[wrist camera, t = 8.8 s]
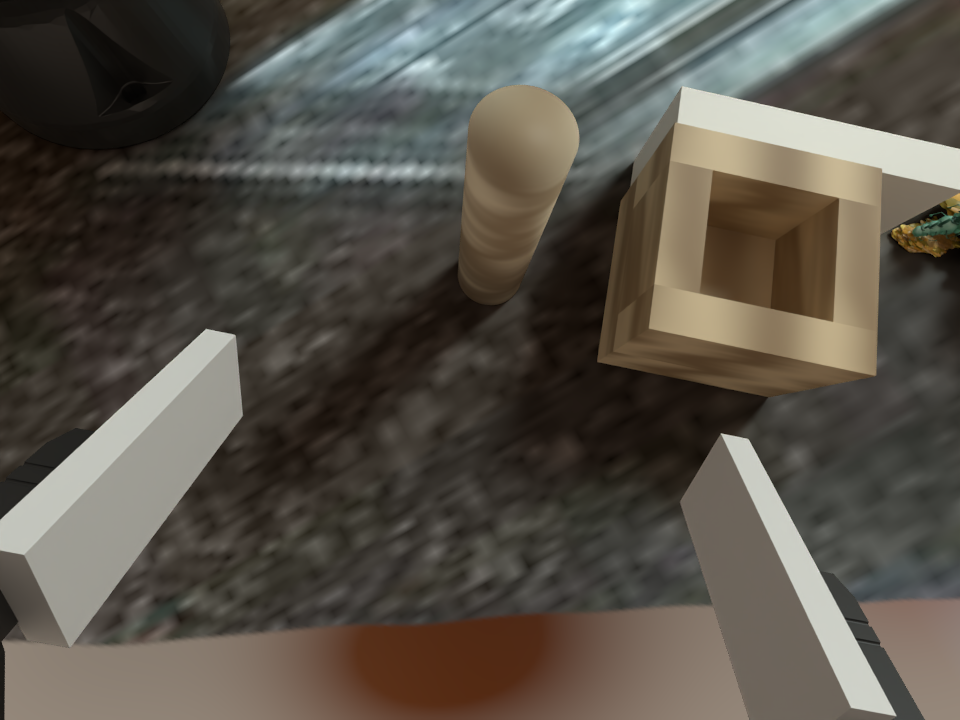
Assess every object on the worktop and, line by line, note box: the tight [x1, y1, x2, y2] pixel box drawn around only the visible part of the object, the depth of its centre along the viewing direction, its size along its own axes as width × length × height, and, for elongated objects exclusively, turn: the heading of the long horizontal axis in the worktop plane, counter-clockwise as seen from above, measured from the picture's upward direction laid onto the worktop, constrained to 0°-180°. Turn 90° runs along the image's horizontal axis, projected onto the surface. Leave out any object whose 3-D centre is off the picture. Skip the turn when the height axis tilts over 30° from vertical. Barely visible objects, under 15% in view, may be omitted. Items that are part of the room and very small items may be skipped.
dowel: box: [458, 85, 579, 305], centre depth 25 cm, size 4×4×14 cm
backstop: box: [630, 86, 960, 234], centre depth 31 cm, size 16×2×7 cm, turn 79°
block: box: [597, 122, 882, 397], centre depth 29 cm, size 11×11×8 cm
